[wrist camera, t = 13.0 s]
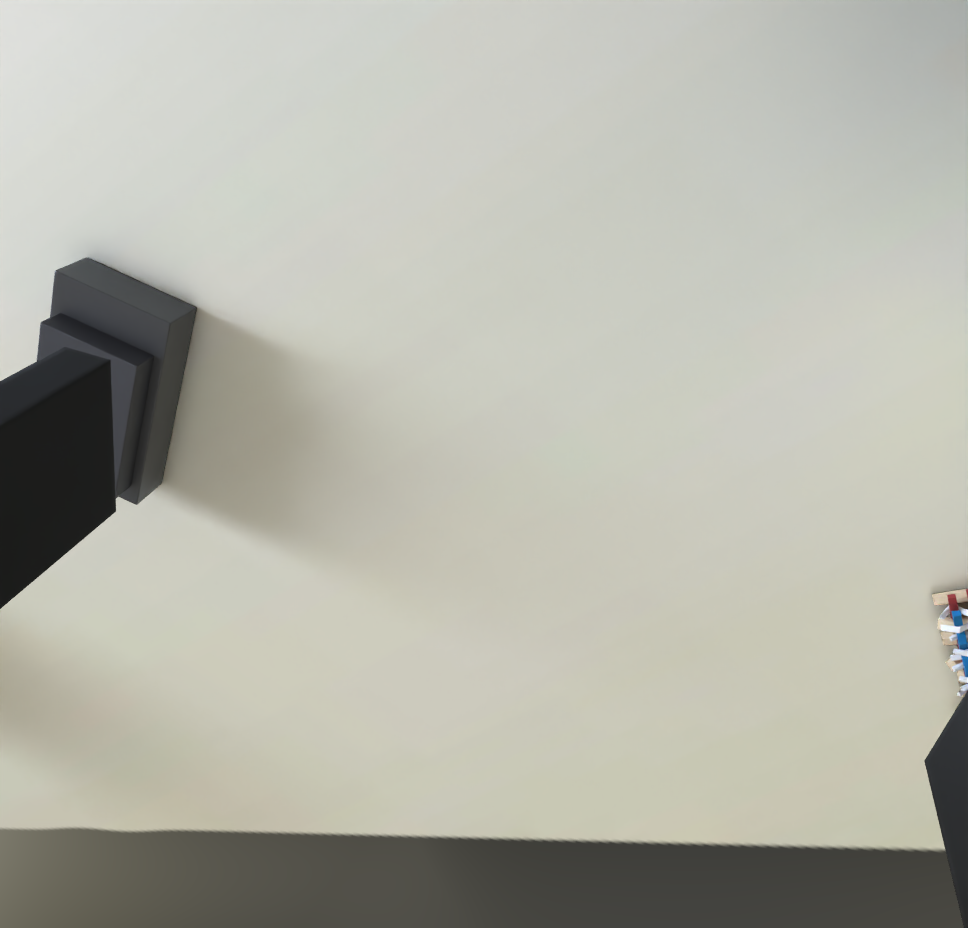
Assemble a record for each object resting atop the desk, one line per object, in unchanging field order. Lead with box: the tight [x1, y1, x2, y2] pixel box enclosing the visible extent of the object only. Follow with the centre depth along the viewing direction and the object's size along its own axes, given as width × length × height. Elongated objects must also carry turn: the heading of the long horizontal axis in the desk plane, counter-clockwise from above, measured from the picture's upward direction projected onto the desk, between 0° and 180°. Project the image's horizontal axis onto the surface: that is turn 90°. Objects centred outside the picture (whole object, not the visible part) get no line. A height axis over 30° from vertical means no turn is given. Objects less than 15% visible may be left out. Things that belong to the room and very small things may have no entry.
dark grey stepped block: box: [37, 258, 196, 505], centre depth 45 cm, size 11×6×4 cm, turn 160°
